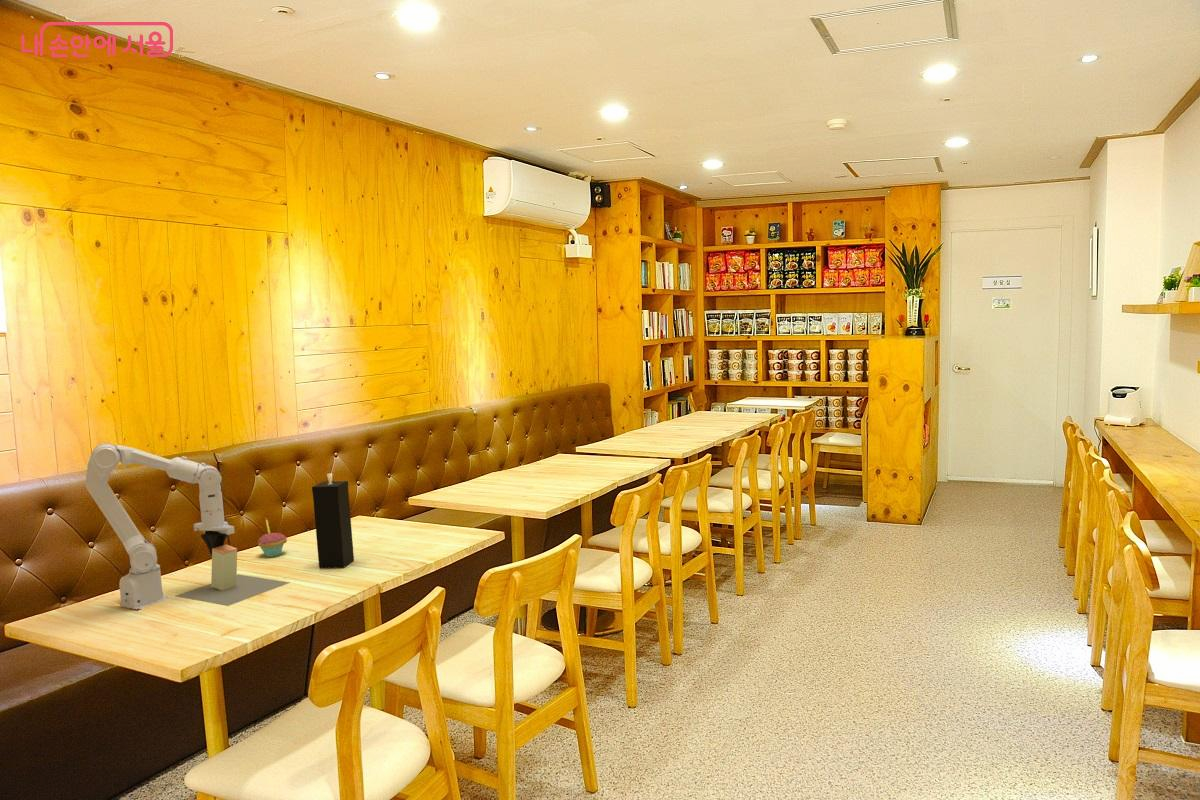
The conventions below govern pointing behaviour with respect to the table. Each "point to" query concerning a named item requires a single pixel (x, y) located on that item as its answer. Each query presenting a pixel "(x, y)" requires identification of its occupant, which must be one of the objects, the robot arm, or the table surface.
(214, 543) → the robot arm
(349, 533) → the black pillar candle
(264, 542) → the cupcake
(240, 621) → the table surface
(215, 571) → the sage block
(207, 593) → the rubber mat
